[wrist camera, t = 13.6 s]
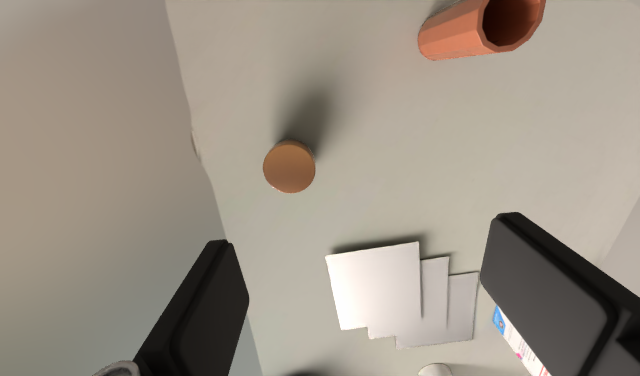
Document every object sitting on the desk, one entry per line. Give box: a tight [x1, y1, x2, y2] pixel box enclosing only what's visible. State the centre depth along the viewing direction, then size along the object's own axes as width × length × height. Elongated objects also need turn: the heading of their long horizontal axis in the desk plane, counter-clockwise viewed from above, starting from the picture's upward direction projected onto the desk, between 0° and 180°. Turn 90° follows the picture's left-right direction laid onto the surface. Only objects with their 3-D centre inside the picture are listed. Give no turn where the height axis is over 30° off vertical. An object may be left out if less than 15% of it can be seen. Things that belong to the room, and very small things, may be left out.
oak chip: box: [263, 141, 315, 193], centre depth 30 cm, size 6×6×2 cm
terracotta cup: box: [418, 0, 546, 60], centre depth 22 cm, size 4×4×11 cm
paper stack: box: [325, 242, 478, 349], centre depth 42 cm, size 23×25×1 cm
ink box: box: [493, 305, 551, 376], centre depth 37 cm, size 8×5×15 cm, turn 6°
